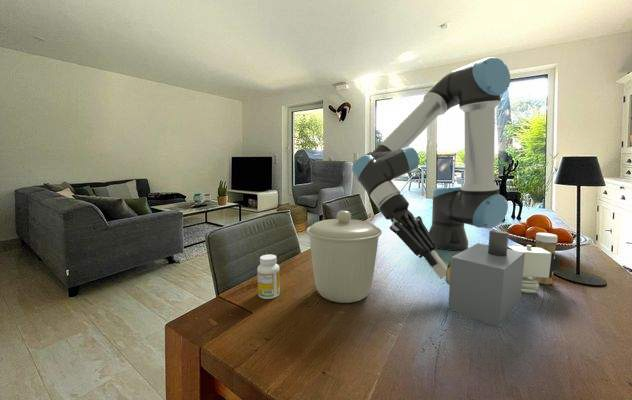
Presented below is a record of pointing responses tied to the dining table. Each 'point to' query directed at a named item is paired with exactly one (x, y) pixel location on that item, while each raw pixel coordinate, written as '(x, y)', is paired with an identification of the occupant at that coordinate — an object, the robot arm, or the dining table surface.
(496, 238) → the grey upright block
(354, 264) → the canister
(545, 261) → the pneumatic valve
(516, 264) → the block
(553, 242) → the sprinkles bottle
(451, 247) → the robot arm
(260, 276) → the supplement bottle
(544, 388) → the dining table surface
